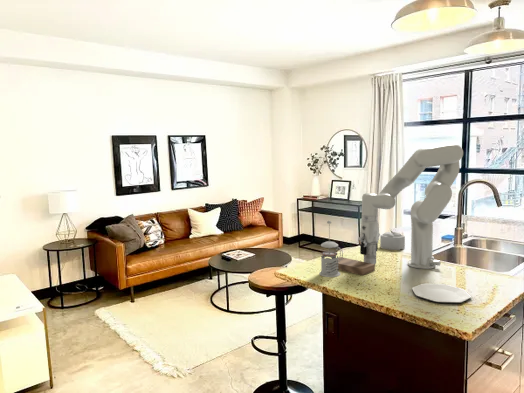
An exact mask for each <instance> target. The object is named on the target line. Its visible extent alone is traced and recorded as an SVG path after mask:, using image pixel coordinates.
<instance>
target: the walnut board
mask: <svg viewBox="0 0 524 393" xmlns="http://www.w3.org/2000/svg"><path fill="white" fill-rule="evenodd" d="M339 257H340V259H339ZM341 258H342V260H341ZM338 259H339V260H338V262H339V261H340V260H341V261H340V262H339V263H338V271H343V272H347V273H352V274H356V275H360V276H364V275H367V274H369V273H372V272H374V271H375V269H376V264H371V263H366V262H364V261H360V260H358V259H357V260H356V259H352V258H348V257H342V256H338ZM336 261H337V260H336ZM329 264H332V263H329ZM336 265H337V263H336ZM331 267H332V266H331ZM336 267H337V266H336Z"/></svg>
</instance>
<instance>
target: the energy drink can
mask: <svg viewBox="0 0 524 393" xmlns="http://www.w3.org/2000/svg"><path fill="white" fill-rule="evenodd" d="M365 241H366V240H365ZM363 243H365V242H363ZM366 247H367V254H366V255H363V262H366V263H371V264H375V265H376V264H377V251H376V238H375V237H374V238H373V242H371V243H367V245H366Z"/></svg>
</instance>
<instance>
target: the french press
mask: <svg viewBox="0 0 524 393" xmlns="http://www.w3.org/2000/svg"><path fill="white" fill-rule="evenodd" d="M326 224H328V232H329V233H328V236H329V237H328V241H325V242H322V243H321V244H320V246H321V247H322V248H324V249H325V248H326V249H329V250H328V251H327V250H326V251H323V252H321V257H320V258H321V260H320V261H321V264H320V265H321V271H319V275H320V276H322V277H325V278H337V277H339V276H341V273H340V271H339V269H338V263H339V262H340V261H341V260H342V258H341V260H340V261H339V262H338V260H339V259H340V257H343V255H344V254H343V249H342V248H341V247H339V244H338V243H336V242H335V241H331V238H330V237H331V235H330V234H331V232H330V229H331V228H330V224H332V221H331V220H328V221H327V220H326ZM330 249H335V250H336V251H338V250H339V254H340V255H338V252H336V251H331V250H330ZM338 257H339V259H338ZM343 258H344V257H343ZM336 260H337V261H336ZM329 263H332V264H329ZM336 263H337V265H336ZM331 266H332V267H331ZM336 266H337V267H336Z"/></svg>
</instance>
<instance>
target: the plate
mask: <svg viewBox="0 0 524 393" xmlns="http://www.w3.org/2000/svg"><path fill="white" fill-rule="evenodd" d="M411 290H412V292H413V294H414V295H415V297H417V298H421V299H423V300H428V301H431V302H433V303H437V304H438V303H442V304H443V303H446V304H447V303H448V304H461V303H464V302H465V301H468V300H471V299H472V296H471V295H470V294H469V293H468V292H467V290H466V289H464V288H462V287H461V288H460V287H458V286H454V285H450V284H446V283H426V282H425V283H421V284H418V285H415V286H412V288H411Z"/></svg>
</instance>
